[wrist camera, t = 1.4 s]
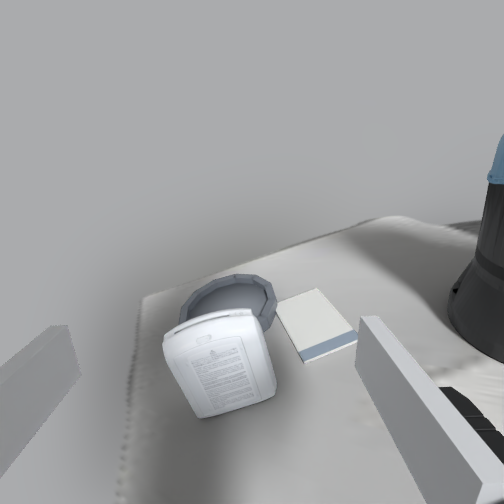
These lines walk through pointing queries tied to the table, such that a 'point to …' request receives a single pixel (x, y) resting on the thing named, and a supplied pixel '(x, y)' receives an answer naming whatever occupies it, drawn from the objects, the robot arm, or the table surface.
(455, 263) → the table surface
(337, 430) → the table surface
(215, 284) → the tray
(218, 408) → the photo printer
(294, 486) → the table surface
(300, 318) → the notepad
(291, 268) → the table surface
